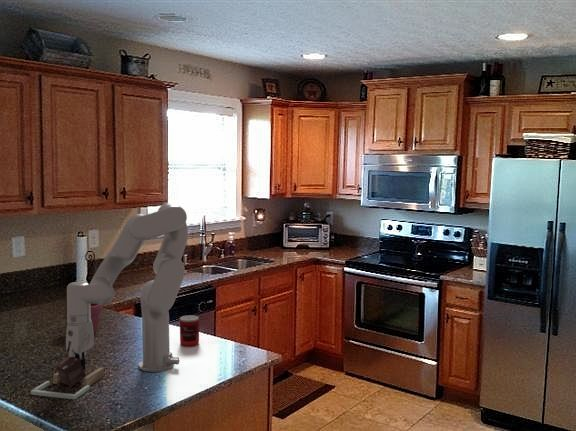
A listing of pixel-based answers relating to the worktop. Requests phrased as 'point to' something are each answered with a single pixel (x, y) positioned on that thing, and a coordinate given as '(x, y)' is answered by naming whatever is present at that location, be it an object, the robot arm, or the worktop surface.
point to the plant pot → (95, 315)
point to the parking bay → (56, 394)
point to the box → (70, 371)
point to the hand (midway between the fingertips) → (79, 369)
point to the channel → (87, 380)
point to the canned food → (189, 330)
